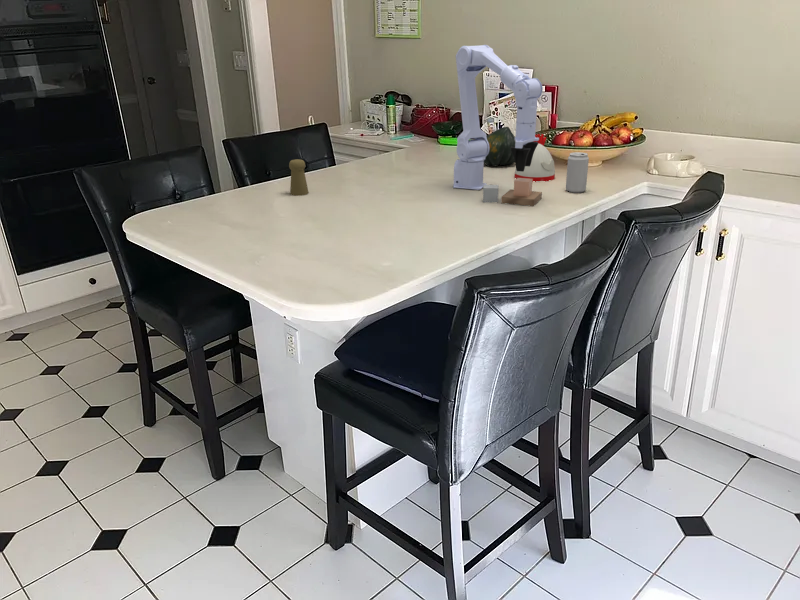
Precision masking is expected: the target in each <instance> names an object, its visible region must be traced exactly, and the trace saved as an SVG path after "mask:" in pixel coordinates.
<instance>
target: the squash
mask: <svg viewBox="0 0 800 600" xmlns="http://www.w3.org/2000/svg"><path fill="white" fill-rule="evenodd" d="M515 136H516V135H514V134H513V132H512V130H511V129H510V127H509V126H503V127H500V128H499V129H498V128H497V129H496V130H494V131H493V132H491V133H489V134H486V137H487V141H488V143H489V153H488V155H487V156H486V159H485V160H484V165H486V166H489V167H492V166H494V167H498V165H502V166H503V165H504V166H510V165H513V164H515V160H514V156H513V154H512V152H511V147H512V146H515Z"/></svg>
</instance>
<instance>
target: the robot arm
mask: <svg viewBox="0 0 800 600" xmlns="http://www.w3.org/2000/svg"><path fill="white" fill-rule="evenodd" d="M455 63H456V72H457V73H456V74H457V84H458V91H459V103H460V110H461V111H460V113H461V120H462V130H463V131H462V132H460V134H459V135H458V136H457V138H456V140H457V141H456V142H457V145H456V155H457V157H458V158H459V159H456V160H455V161H454V165H453V186H452V188H453V189H463V190H464V189H466V190H475V191H479V190H483V187H484V185H488V184H487V183H485V182H484V166H485V163H484V160H485V159H486V156H487V155H488V153H489V143H488V141H487V137H486V136H487V133H486V132H485V131H483V130H482V129H481V126H480V116H479V114H480V113H479V106H478V95H477V85H476V78H477V76H478V75H479V74H480V73H481V72H482V71H483V70H485V69H486V67H487V68H488V69H490V70H491V71H492V72H494V73H496V74H497V75H498V76H499V77H500V78H499V79H500V82H501V83H503V84H504V86H506V87H507V88H508V89H510V90H511V91H512V92H513V96H514V99H515V106H516V117H515V118H516V119H515V120H516V121H515V122H516V123H515V135H514V136H515V146H512V147H511V152H512V154H513V156H514V160H515V163H514V164H515V169H516V171H522V172H523V171H524V169H525V166H529V167H530V165H531V162H532V158H533V154H534V151H535V149H536V147H537V145H538V142H533V141H538V140H539V138H536V137H535V134H536V125H537V111H538V109H537V108H538V99H540V98H541V96H542V94H543V83H542V82H541V80H539V78H538V77H533V78H531V77H530V76H529V75H528V73H525V72H523V71H521V69H519V66H518V65H517V64H509V65H508V64H506V63H505V62H504V60H502V59H501V57H499V56H498V55H497V54H496V53H495V52H494V48H492V47H491V46H489V44H482V45H480V44H479V45H462V46H460V48H459V49H458V51H457V52H456V54H455Z"/></svg>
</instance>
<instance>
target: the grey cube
mask: <svg viewBox="0 0 800 600" xmlns="http://www.w3.org/2000/svg"><path fill="white" fill-rule="evenodd" d="M492 202H499V184H487V185H484V187H483V188H482V203H492Z"/></svg>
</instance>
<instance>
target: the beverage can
mask: <svg viewBox="0 0 800 600" xmlns="http://www.w3.org/2000/svg"><path fill="white" fill-rule="evenodd" d="M589 160H590V158H589V154H588V153H586V152H581V151H580V152H579V151H576V152H570V153H569V156H567V167H566V179H565V190H566V191H567V192H568V191H569V192H568V193H572V192H573V193H572V194H576V193H577V194H579V193H584V192H585V191H586V190H587V184H588V183H587V182H588V173H589V171H588V170H589V162H590V161H589Z"/></svg>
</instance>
